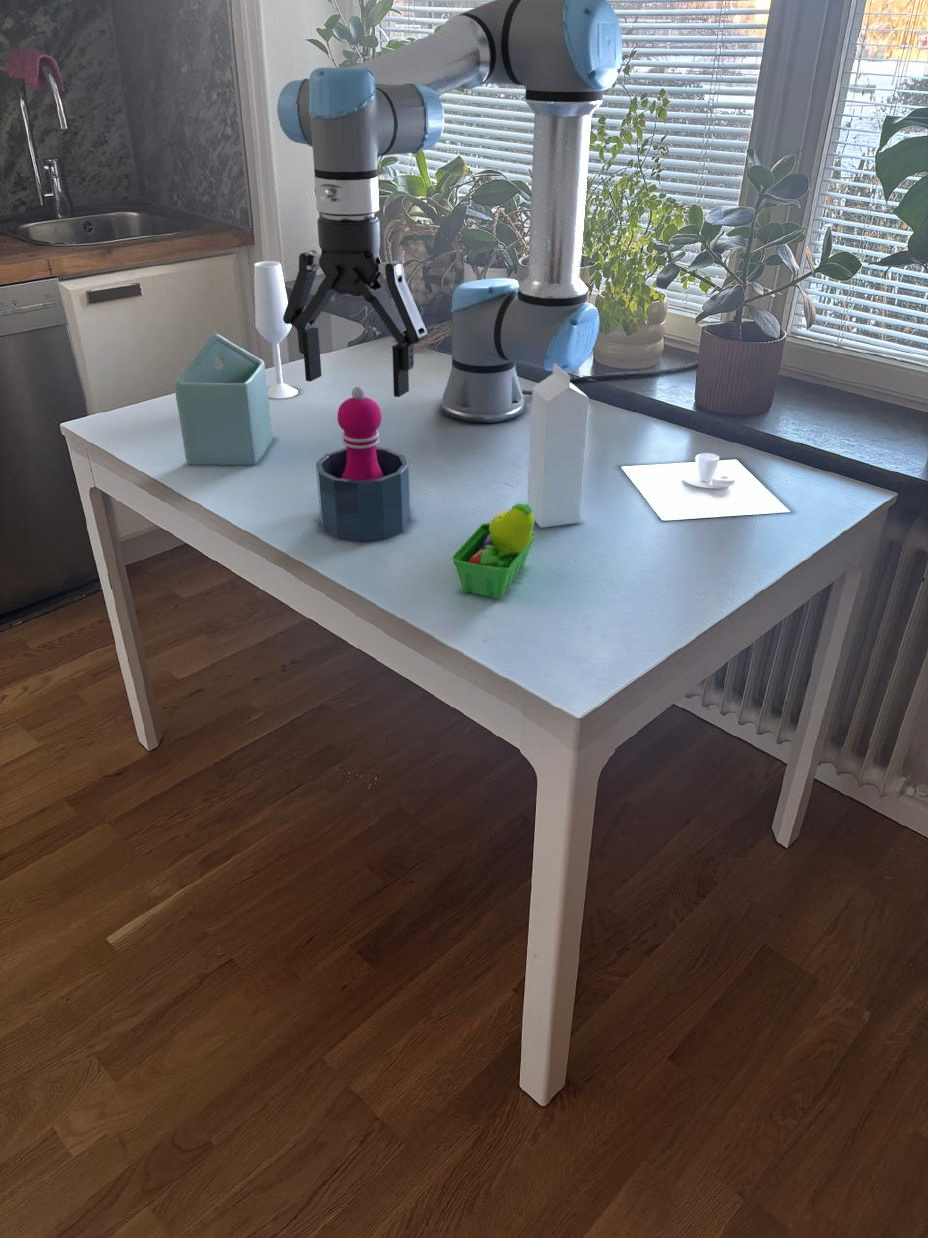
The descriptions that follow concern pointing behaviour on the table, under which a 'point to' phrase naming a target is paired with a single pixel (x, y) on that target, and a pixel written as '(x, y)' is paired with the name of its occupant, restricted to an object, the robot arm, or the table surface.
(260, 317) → the champagne flute
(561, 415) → the milk
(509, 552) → the fruit basket
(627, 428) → the table surface
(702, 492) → the teacup and saucer
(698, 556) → the table surface
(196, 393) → the planter
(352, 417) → the pepper mill
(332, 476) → the crock
